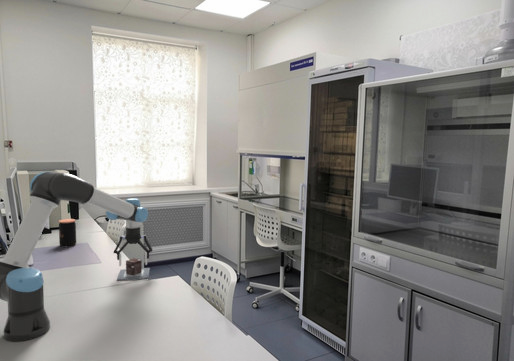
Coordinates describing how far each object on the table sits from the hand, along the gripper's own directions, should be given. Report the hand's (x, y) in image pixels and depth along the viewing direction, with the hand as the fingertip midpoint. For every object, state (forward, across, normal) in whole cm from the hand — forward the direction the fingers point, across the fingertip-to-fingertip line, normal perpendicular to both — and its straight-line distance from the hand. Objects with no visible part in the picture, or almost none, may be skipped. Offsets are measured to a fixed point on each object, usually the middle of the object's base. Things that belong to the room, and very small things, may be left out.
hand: (133, 264), depth 206 cm
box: (+5, 0, 0) cm, 5 cm away
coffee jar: (+6, +51, -73) cm, 89 cm away
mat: (+6, 0, 0) cm, 6 cm away
